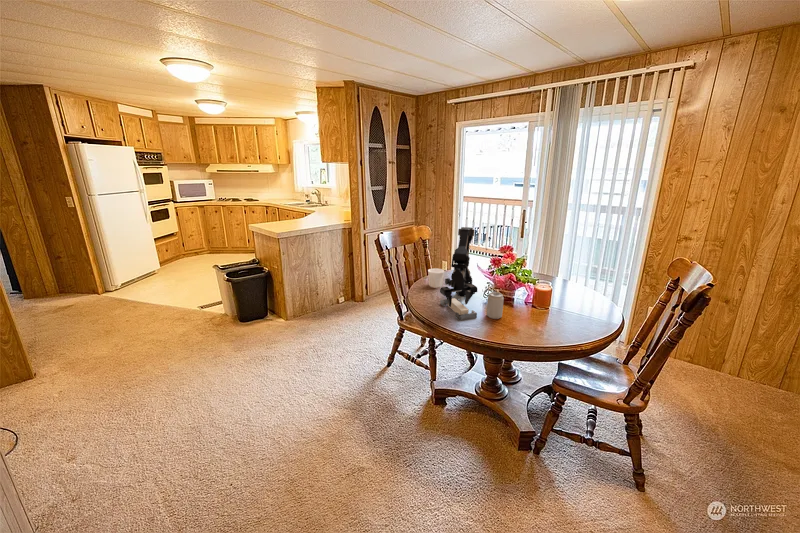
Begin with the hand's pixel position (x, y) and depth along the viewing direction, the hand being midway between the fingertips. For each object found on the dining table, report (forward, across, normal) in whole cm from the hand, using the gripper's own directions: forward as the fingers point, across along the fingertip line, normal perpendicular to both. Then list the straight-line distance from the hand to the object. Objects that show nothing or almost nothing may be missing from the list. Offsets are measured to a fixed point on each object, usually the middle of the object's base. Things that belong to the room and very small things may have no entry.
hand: (457, 305), depth 171 cm
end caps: (+3, 0, 0) cm, 3 cm away
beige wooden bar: (+3, 0, 0) cm, 3 cm away
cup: (+3, -5, -39) cm, 40 cm away
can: (+3, -14, +12) cm, 19 cm away
